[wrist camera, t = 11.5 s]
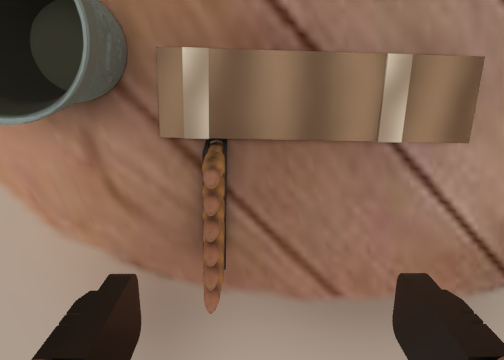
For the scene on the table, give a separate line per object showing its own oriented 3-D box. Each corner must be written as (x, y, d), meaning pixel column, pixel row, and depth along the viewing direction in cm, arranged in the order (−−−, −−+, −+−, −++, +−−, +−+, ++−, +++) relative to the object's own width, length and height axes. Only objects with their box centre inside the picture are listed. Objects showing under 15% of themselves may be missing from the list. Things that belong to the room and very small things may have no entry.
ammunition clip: (226, 246, 37) (224, 324, 25) (207, 246, 37) (196, 325, 25) (227, 138, 34) (225, 171, 22) (206, 138, 34) (194, 170, 22)
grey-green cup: (-11, 32, 31) (-159, 6, 19) (81, -49, 29) (-18, -129, 18) (76, 131, 33) (-8, 161, 22) (165, 60, 32) (125, 52, 20)
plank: (462, 58, 33) (487, 56, 30) (449, 137, 35) (471, 143, 32) (163, 49, 32) (155, 46, 28) (166, 131, 34) (159, 137, 30)
